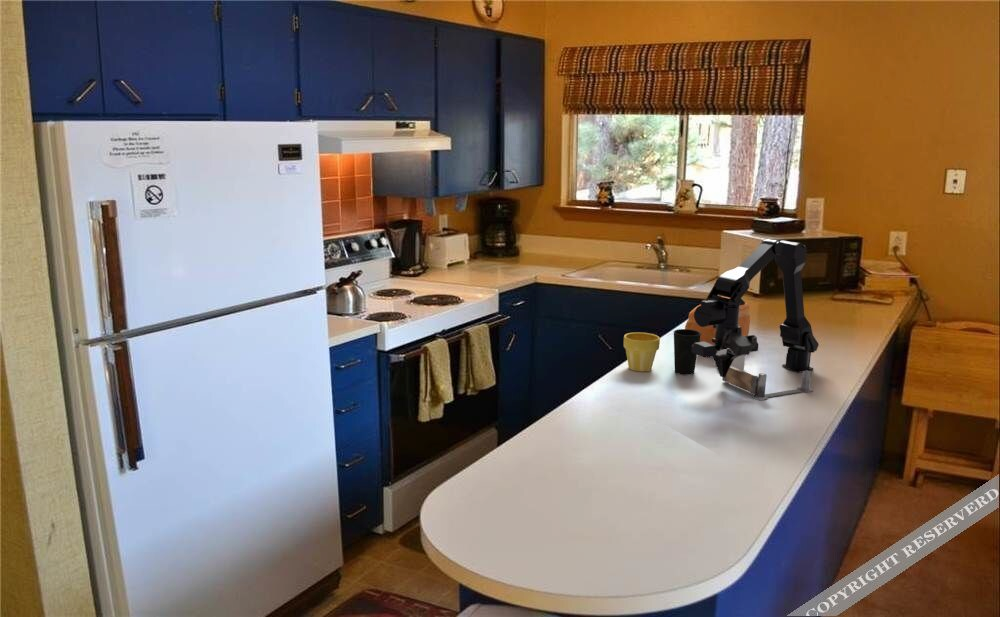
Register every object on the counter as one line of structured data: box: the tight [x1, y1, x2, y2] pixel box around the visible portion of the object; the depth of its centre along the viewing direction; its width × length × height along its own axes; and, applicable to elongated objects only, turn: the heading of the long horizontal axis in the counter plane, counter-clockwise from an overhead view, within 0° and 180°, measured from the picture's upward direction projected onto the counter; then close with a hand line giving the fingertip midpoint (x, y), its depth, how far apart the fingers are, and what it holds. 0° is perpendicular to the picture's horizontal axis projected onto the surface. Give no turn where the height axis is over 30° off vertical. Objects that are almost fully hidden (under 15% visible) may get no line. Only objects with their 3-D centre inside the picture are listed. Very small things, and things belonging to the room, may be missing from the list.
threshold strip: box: [765, 388, 803, 399], centre depth 221 cm, size 12×2×1 cm, turn 115°
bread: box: [684, 296, 751, 345], centre depth 264 cm, size 14×26×16 cm, turn 145°
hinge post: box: [752, 372, 769, 401], centre depth 217 cm, size 4×4×6 cm
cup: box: [673, 328, 701, 376], centre depth 237 cm, size 8×8×12 cm
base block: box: [714, 354, 747, 371], centre depth 243 cm, size 6×6×5 cm
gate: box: [721, 366, 759, 396], centre depth 224 cm, size 13×2×5 cm, turn 25°
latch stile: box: [796, 370, 814, 393], centre depth 224 cm, size 3×3×6 cm
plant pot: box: [623, 332, 661, 373], centre depth 240 cm, size 10×10×10 cm
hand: (722, 376), depth 225 cm, fingers closed
